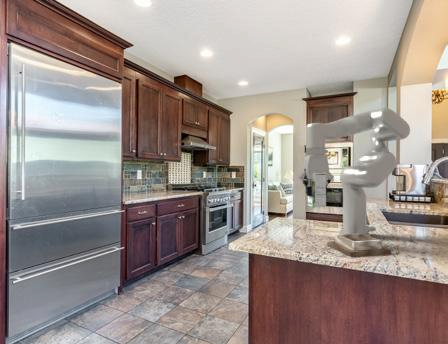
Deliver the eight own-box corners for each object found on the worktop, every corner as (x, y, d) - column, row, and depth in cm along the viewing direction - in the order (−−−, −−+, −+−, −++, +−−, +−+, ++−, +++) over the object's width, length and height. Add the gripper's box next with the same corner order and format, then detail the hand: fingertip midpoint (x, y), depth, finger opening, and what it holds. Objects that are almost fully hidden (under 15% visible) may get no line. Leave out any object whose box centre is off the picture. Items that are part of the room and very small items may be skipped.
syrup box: (307, 205, 113) (306, 172, 113) (320, 205, 114) (319, 171, 113) (313, 207, 107) (312, 172, 107) (326, 206, 108) (326, 171, 108)
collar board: (363, 243, 106) (363, 232, 106) (391, 254, 93) (391, 241, 93) (327, 245, 104) (327, 234, 104) (350, 256, 90) (350, 243, 90)
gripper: (329, 153, 115) (330, 193, 116) (292, 153, 112) (293, 195, 112) (339, 152, 108) (340, 195, 108) (300, 152, 105) (301, 197, 105)
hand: (316, 195), depth 110 cm, fingers closed on syrup box, 6 cm apart
